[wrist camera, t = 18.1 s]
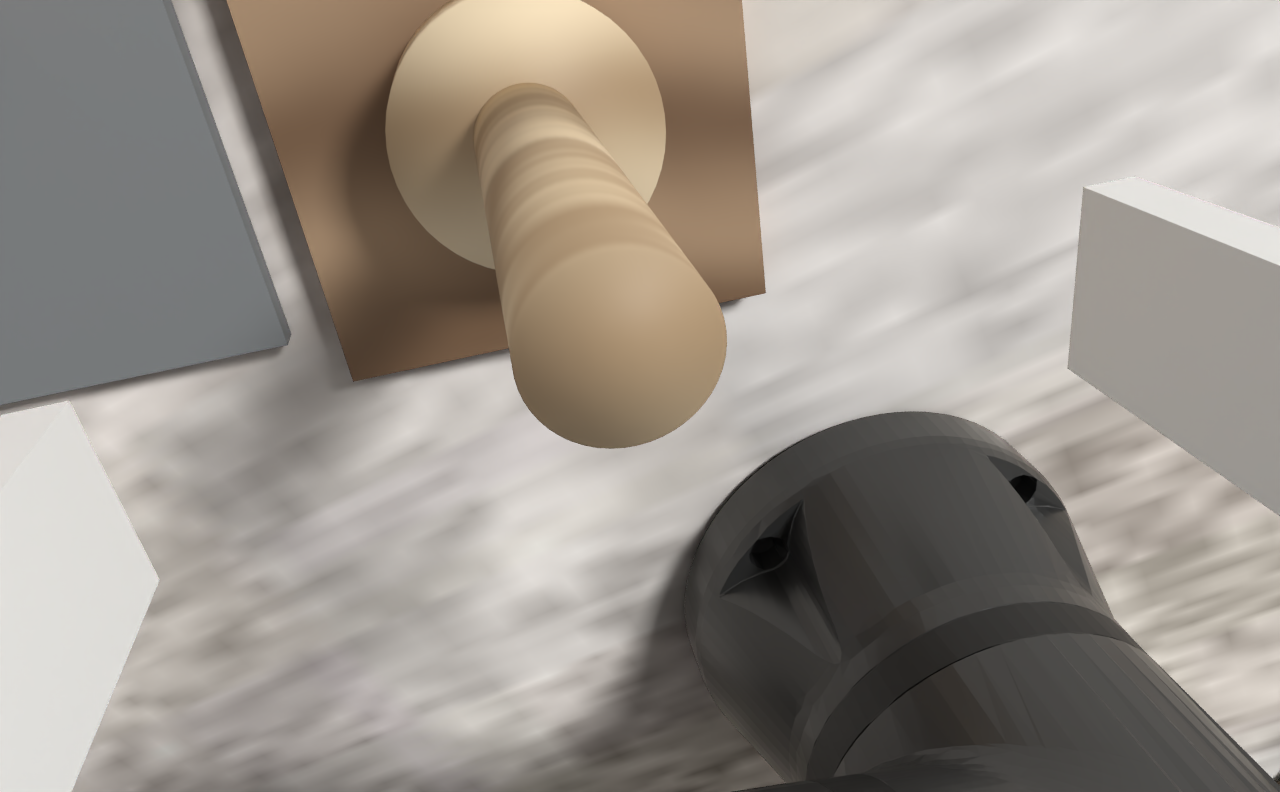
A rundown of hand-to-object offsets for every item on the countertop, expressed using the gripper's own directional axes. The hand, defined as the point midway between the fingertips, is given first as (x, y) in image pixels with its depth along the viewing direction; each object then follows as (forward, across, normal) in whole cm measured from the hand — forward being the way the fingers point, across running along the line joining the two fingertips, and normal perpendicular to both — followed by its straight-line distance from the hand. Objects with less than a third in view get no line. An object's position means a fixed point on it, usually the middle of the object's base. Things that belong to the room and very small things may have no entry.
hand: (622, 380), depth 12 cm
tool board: (+16, 0, 0) cm, 16 cm away
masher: (+15, 0, 0) cm, 15 cm away
